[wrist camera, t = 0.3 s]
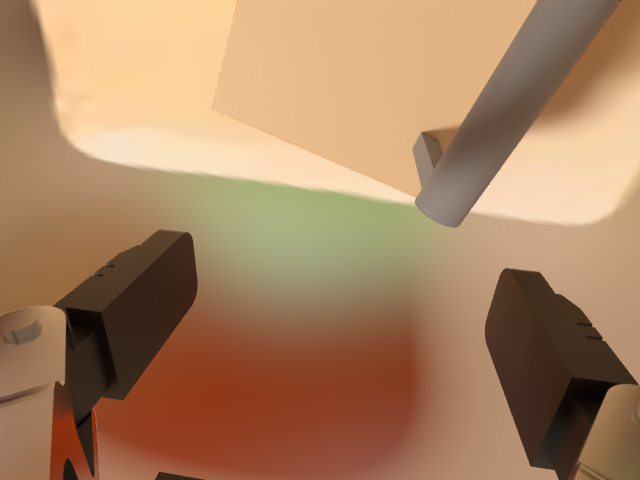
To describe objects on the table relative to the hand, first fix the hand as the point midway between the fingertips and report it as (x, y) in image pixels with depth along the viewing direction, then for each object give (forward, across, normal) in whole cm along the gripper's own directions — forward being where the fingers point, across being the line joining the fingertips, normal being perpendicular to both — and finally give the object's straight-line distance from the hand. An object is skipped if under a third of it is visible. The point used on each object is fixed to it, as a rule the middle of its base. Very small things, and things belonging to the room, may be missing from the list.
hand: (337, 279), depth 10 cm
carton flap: (+13, -1, -7) cm, 15 cm away
